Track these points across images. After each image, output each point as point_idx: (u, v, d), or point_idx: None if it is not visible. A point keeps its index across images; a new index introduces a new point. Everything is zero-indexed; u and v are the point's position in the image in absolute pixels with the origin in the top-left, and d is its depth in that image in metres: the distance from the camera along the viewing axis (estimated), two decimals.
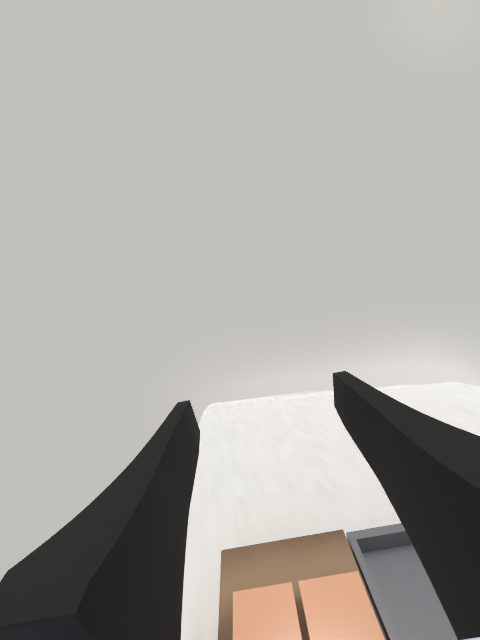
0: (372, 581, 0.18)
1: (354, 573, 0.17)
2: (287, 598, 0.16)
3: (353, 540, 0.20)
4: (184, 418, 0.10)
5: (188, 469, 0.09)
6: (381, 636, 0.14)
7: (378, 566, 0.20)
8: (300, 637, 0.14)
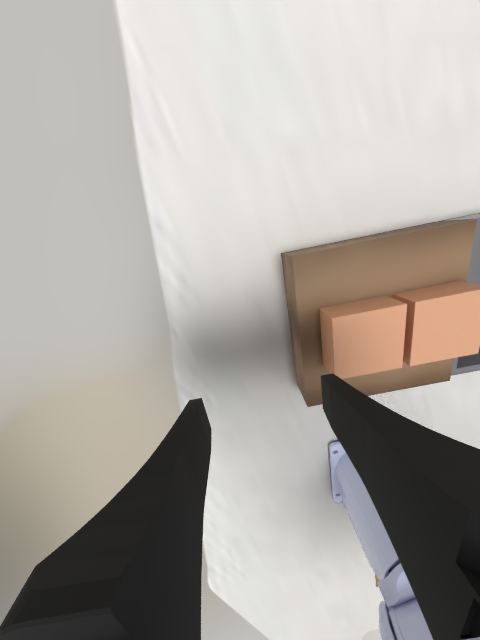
0: (471, 269, 0.15)
1: None
2: (398, 317, 0.14)
3: (477, 228, 0.14)
4: (197, 415, 0.10)
5: (203, 466, 0.09)
6: None
7: None
8: (402, 341, 0.14)
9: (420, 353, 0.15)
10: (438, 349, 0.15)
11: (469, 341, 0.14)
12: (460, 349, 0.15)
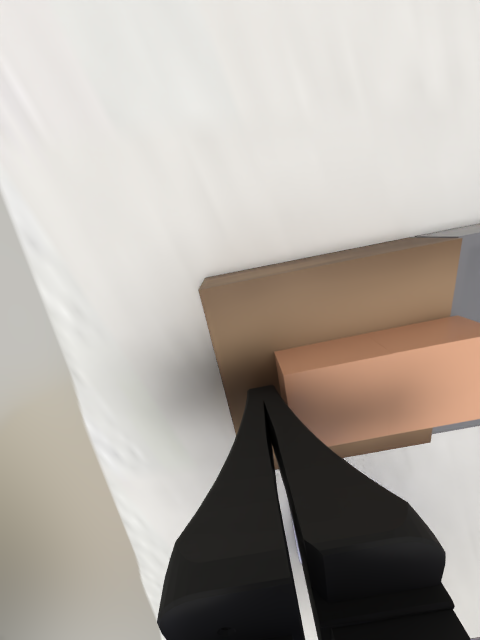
0: (457, 304, 0.11)
1: None
2: (380, 372, 0.09)
3: (463, 250, 0.10)
4: (264, 403, 0.10)
5: (271, 454, 0.09)
6: None
7: None
8: (388, 402, 0.10)
9: (402, 419, 0.10)
10: (428, 414, 0.10)
11: (472, 403, 0.10)
12: (459, 413, 0.10)
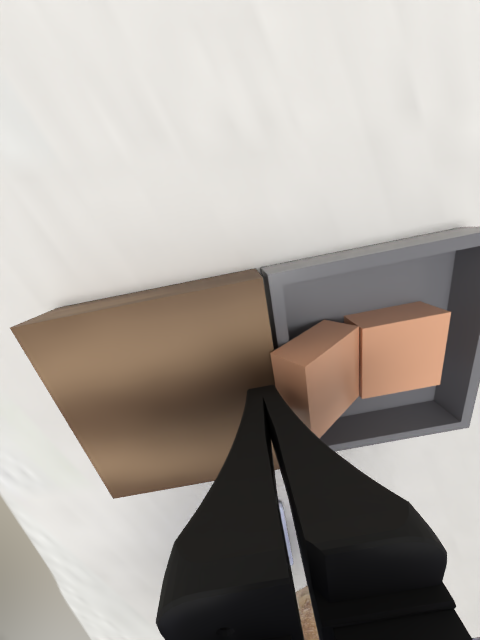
0: (286, 337, 0.11)
1: None
2: (354, 343, 0.12)
3: (276, 287, 0.10)
4: (263, 403, 0.10)
5: (271, 454, 0.09)
6: None
7: (300, 291, 0.13)
8: (357, 368, 0.12)
9: None
10: None
11: None
12: None
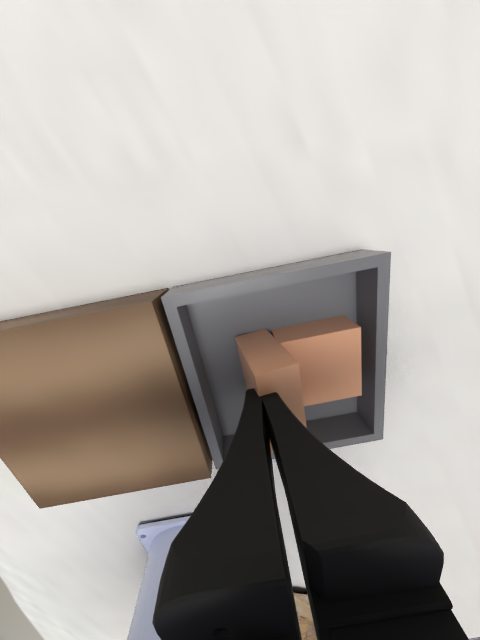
0: (188, 355, 0.12)
1: (276, 329, 0.14)
2: None
3: (171, 308, 0.11)
4: (262, 403, 0.10)
5: (270, 454, 0.09)
6: None
7: (210, 309, 0.13)
8: None
9: None
10: None
11: None
12: None
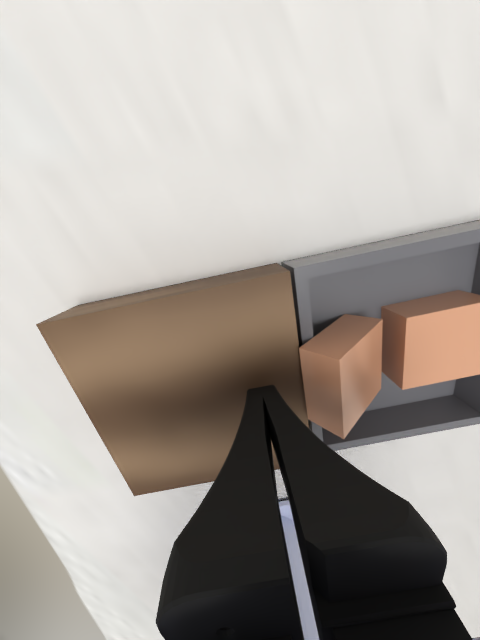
0: (310, 331, 0.11)
1: None
2: (378, 336, 0.12)
3: (302, 280, 0.10)
4: (263, 403, 0.10)
5: (271, 454, 0.09)
6: None
7: (321, 285, 0.13)
8: (380, 360, 0.13)
9: None
10: None
11: None
12: None
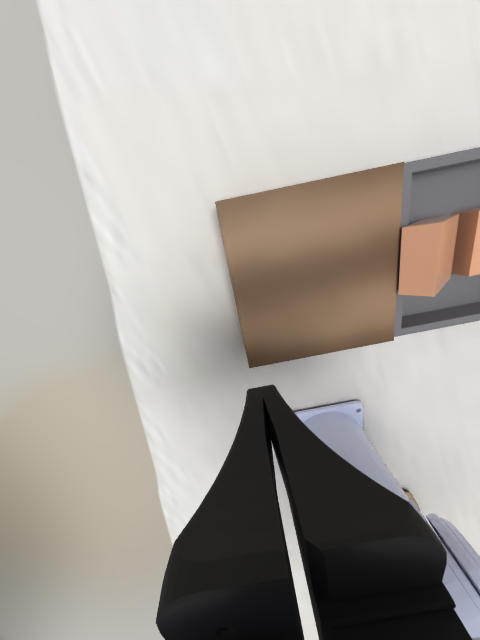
0: (406, 219, 0.15)
1: None
2: (456, 226, 0.15)
3: (408, 174, 0.14)
4: (263, 403, 0.10)
5: (271, 454, 0.09)
6: None
7: None
8: (453, 251, 0.16)
9: None
10: None
11: None
12: None
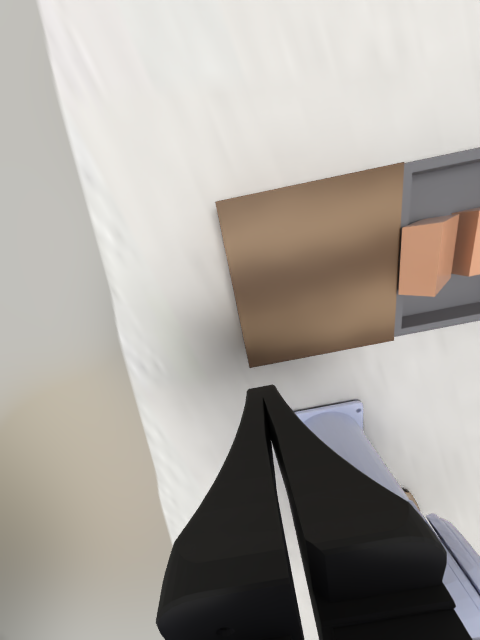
0: (406, 219, 0.15)
1: (455, 213, 0.17)
2: (456, 226, 0.15)
3: (408, 174, 0.14)
4: (263, 403, 0.10)
5: (271, 454, 0.09)
6: None
7: None
8: (453, 251, 0.16)
9: None
10: None
11: None
12: None
